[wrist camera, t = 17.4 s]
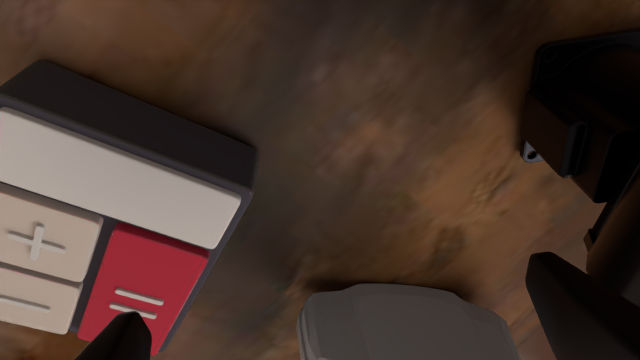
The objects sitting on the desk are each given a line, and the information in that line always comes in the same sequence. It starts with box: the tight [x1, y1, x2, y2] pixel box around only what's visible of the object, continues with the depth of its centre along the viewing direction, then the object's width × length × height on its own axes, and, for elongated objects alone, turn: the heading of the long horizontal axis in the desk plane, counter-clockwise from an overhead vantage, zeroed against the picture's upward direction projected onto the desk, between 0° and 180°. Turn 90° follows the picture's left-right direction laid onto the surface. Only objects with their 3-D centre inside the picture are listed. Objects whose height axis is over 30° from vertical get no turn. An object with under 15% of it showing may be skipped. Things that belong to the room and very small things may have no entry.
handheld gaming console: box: [297, 284, 521, 360], centre depth 26 cm, size 14×3×8 cm, turn 79°
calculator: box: [0, 60, 259, 355], centre depth 22 cm, size 11×4×15 cm
